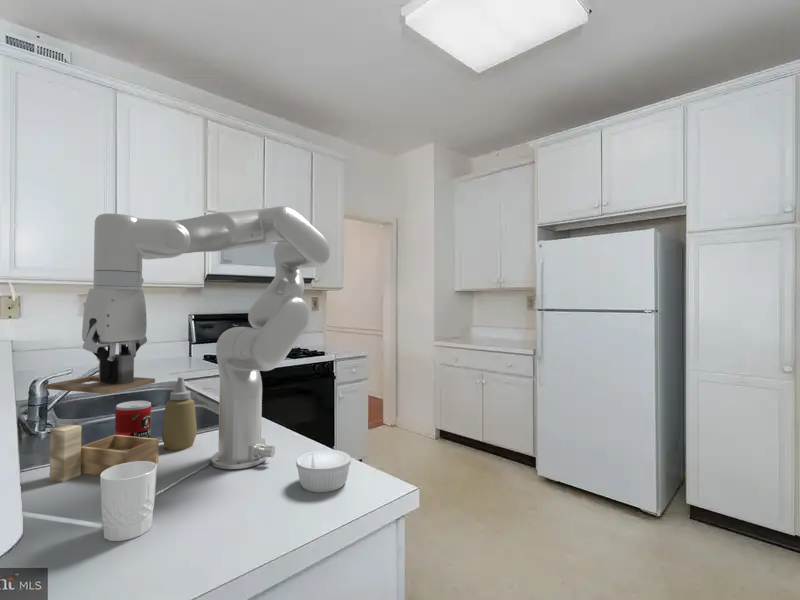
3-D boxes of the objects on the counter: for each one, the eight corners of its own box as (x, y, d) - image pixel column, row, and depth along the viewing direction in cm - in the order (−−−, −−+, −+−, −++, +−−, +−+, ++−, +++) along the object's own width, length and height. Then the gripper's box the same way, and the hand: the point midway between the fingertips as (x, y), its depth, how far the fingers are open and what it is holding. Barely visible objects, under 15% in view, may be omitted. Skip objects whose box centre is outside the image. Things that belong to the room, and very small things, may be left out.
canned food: (134, 453, 104) (135, 408, 105) (106, 450, 106) (107, 406, 106) (157, 443, 112) (158, 401, 112) (131, 440, 114) (132, 399, 114)
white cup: (93, 548, 65) (94, 483, 65) (105, 523, 72) (106, 464, 72) (152, 537, 68) (153, 475, 68) (158, 514, 76) (159, 458, 76)
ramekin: (285, 482, 90) (286, 457, 90) (329, 468, 98) (329, 445, 98) (316, 501, 82) (316, 473, 82) (360, 484, 90) (361, 459, 90)
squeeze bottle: (203, 447, 110) (204, 377, 110) (172, 456, 103) (173, 382, 103) (185, 441, 114) (186, 373, 114) (154, 449, 107) (156, 378, 107)
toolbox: (158, 465, 98) (158, 438, 98) (125, 481, 89) (125, 452, 89) (114, 460, 100) (114, 434, 100) (77, 475, 91) (78, 447, 91)
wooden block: (80, 477, 90) (81, 425, 90) (63, 484, 87) (64, 430, 87) (66, 476, 91) (67, 424, 91) (49, 483, 87) (50, 429, 87)
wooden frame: (154, 382, 84) (155, 353, 84) (108, 393, 74) (109, 360, 74) (98, 378, 86) (98, 350, 86) (45, 389, 76) (46, 356, 76)
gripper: (136, 283, 88) (135, 372, 88) (58, 279, 72) (57, 388, 72) (168, 283, 86) (166, 374, 86) (95, 279, 71) (93, 390, 71)
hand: (116, 379), depth 79 cm, fingers closed on wooden frame, 2 cm apart
